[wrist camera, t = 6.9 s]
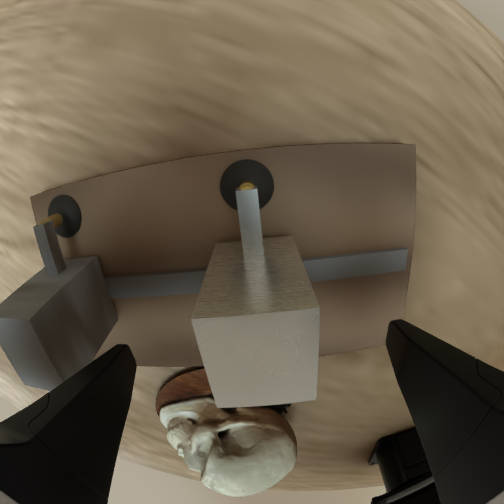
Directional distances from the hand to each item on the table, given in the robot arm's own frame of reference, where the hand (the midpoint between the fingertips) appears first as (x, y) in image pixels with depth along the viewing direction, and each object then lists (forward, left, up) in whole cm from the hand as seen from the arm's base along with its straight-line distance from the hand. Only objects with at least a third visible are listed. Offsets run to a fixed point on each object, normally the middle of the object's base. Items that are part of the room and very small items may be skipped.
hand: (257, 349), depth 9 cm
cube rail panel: (0, +2, -7) cm, 8 cm away
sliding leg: (+1, 0, -5) cm, 6 cm away
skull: (-13, +3, -8) cm, 16 cm away
